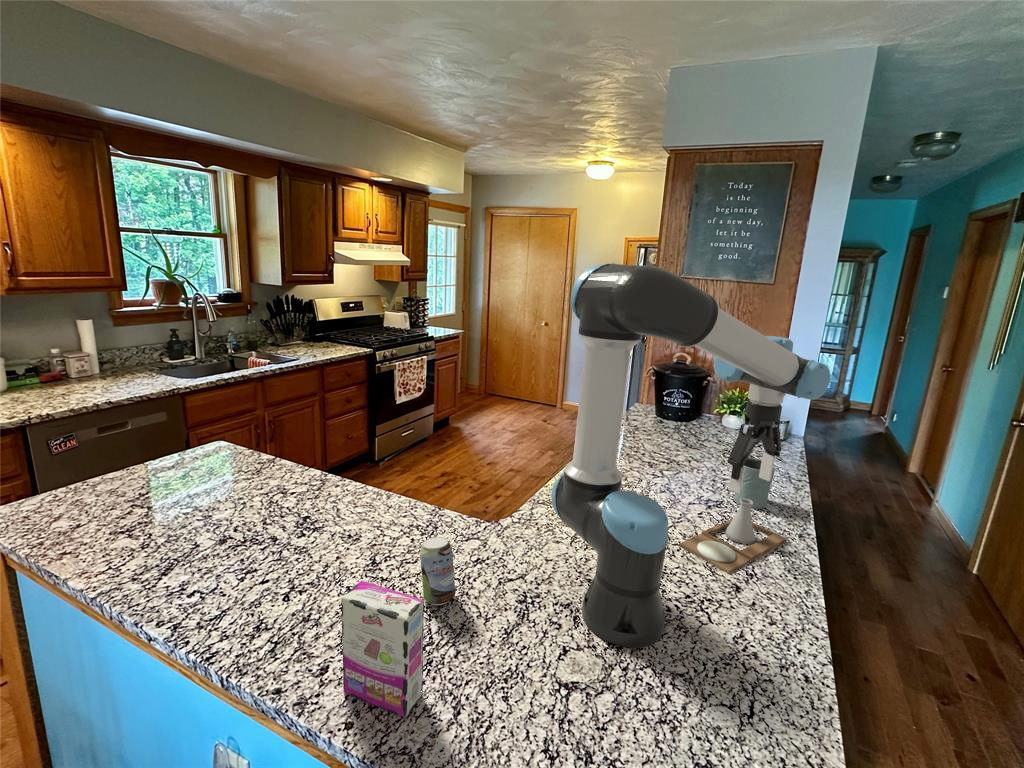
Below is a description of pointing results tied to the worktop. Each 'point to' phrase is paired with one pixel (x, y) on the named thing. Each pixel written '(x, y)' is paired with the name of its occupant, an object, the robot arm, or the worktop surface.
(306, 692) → the worktop surface
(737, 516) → the flask
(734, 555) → the board
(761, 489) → the green cup
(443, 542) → the beverage can
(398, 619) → the candy bar box
